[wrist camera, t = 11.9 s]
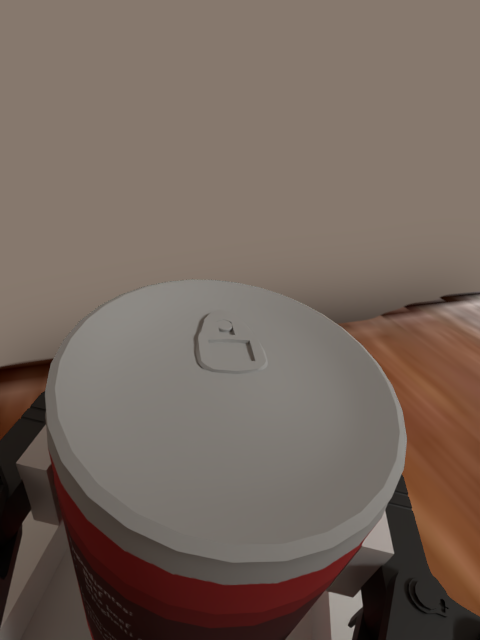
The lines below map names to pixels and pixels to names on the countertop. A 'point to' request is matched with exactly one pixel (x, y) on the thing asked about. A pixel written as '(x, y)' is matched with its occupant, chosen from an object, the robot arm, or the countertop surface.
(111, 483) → the canned food
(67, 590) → the tray
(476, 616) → the robot arm
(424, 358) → the countertop surface
